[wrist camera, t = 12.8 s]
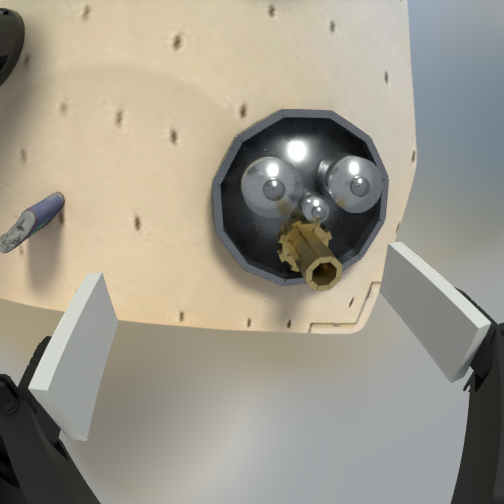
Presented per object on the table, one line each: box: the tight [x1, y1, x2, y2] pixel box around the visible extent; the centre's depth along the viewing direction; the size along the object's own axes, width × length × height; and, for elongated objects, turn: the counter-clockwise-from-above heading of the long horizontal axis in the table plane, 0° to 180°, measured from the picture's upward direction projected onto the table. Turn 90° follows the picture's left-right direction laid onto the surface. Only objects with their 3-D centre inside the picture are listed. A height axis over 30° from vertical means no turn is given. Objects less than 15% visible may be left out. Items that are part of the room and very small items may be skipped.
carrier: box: [212, 109, 389, 286], centre depth 38 cm, size 24×24×8 cm
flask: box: [0, 192, 65, 253], centre depth 33 cm, size 9×3×11 cm, turn 119°
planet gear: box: [277, 218, 343, 291], centre depth 39 cm, size 8×8×10 cm
